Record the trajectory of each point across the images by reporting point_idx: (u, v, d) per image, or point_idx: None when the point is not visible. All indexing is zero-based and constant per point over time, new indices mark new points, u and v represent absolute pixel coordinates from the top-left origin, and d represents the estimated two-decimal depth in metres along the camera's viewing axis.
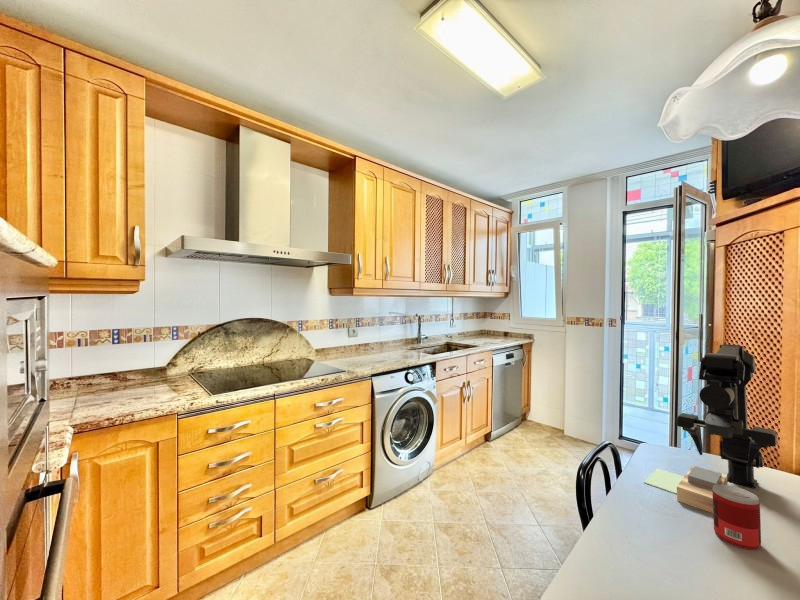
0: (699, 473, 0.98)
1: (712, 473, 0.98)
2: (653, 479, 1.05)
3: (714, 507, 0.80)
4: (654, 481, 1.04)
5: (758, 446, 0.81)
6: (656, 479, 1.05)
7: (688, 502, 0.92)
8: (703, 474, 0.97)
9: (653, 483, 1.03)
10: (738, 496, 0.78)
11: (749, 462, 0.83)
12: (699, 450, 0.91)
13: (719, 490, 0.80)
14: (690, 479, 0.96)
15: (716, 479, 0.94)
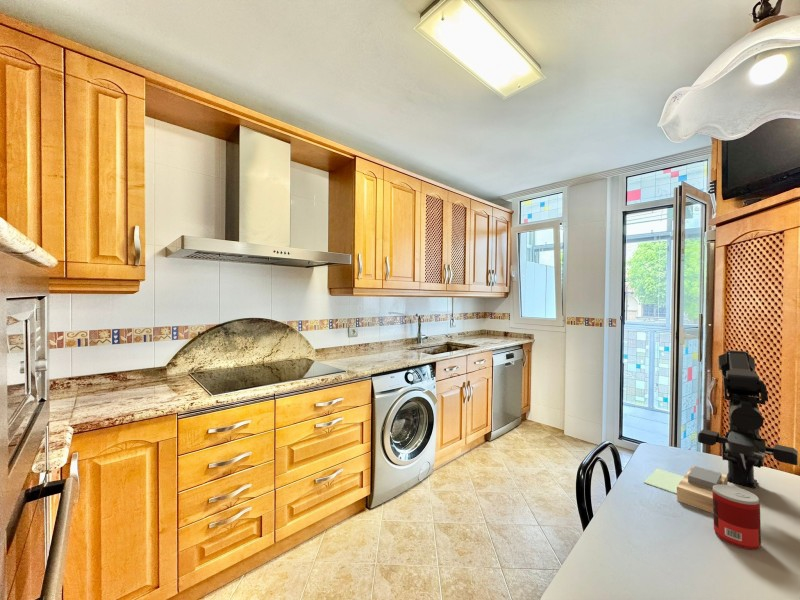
0: (699, 473, 0.98)
1: (712, 473, 0.98)
2: (653, 479, 1.05)
3: (714, 507, 0.80)
4: (654, 481, 1.04)
5: (755, 458, 0.88)
6: (656, 479, 1.05)
7: (688, 502, 0.92)
8: (703, 474, 0.97)
9: (653, 483, 1.03)
10: (738, 496, 0.78)
11: (747, 472, 0.90)
12: (743, 472, 0.91)
13: (719, 490, 0.80)
14: (690, 479, 0.96)
15: (716, 479, 0.94)
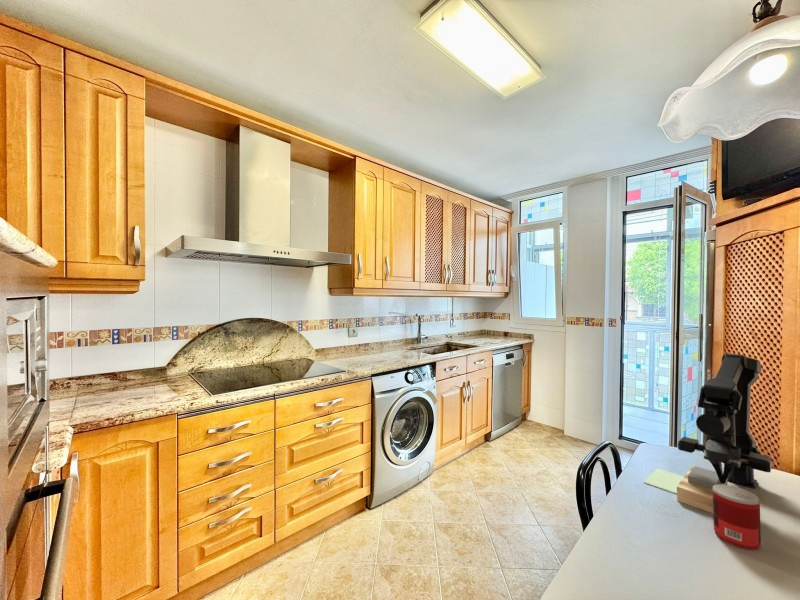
0: (699, 473, 0.98)
1: (712, 473, 0.98)
2: (653, 479, 1.05)
3: (714, 507, 0.80)
4: (654, 481, 1.04)
5: (731, 465, 0.91)
6: (656, 479, 1.05)
7: (688, 502, 0.92)
8: (703, 474, 0.97)
9: (653, 483, 1.03)
10: (738, 496, 0.78)
11: (724, 479, 0.94)
12: (720, 478, 0.94)
13: (719, 490, 0.80)
14: (690, 479, 0.96)
15: (716, 479, 0.94)
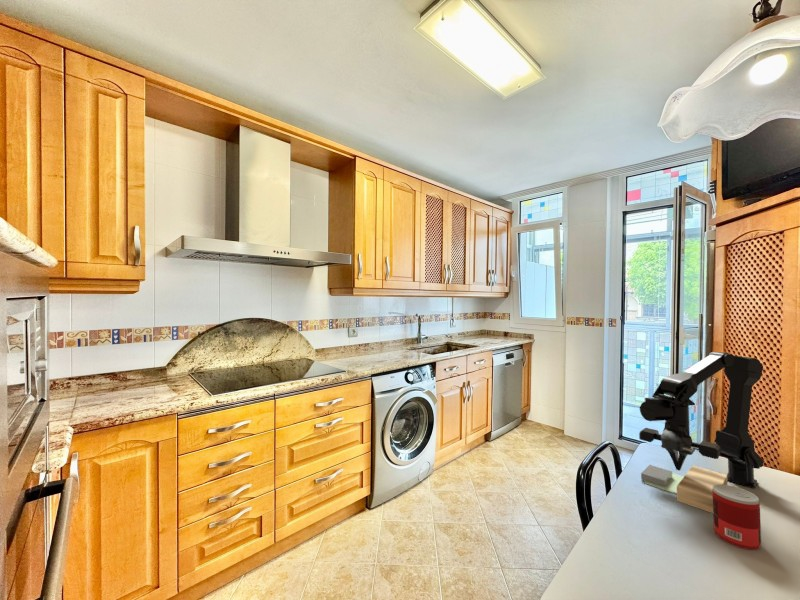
0: None
1: None
2: None
3: (714, 507, 0.80)
4: None
5: (684, 453, 0.99)
6: None
7: (688, 502, 0.92)
8: None
9: None
10: (738, 496, 0.78)
11: (679, 466, 1.01)
12: (676, 465, 1.02)
13: (719, 490, 0.80)
14: (662, 483, 1.01)
15: None
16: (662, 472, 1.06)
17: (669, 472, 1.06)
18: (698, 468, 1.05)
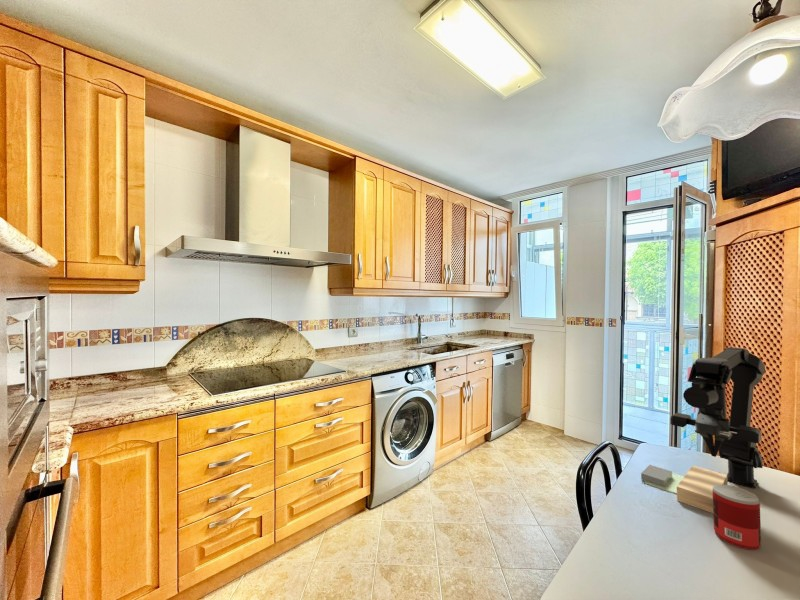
0: None
1: None
2: None
3: (714, 507, 0.80)
4: None
5: (721, 438, 0.93)
6: None
7: (688, 502, 0.92)
8: None
9: None
10: (738, 496, 0.78)
11: (715, 452, 0.96)
12: (711, 451, 0.96)
13: (719, 490, 0.80)
14: (662, 483, 1.01)
15: None
16: (662, 472, 1.06)
17: (669, 472, 1.06)
18: (698, 468, 1.05)
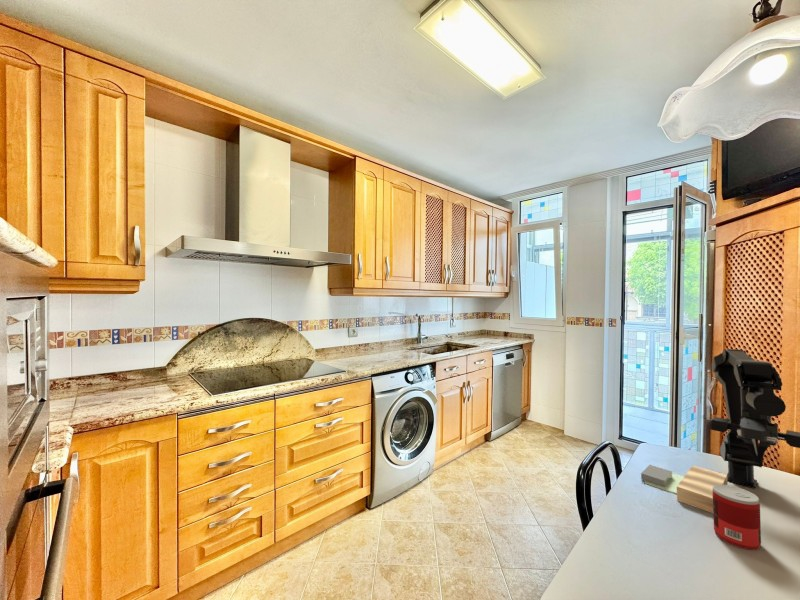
0: None
1: None
2: None
3: (714, 507, 0.80)
4: None
5: (767, 444, 0.89)
6: None
7: (688, 502, 0.92)
8: None
9: None
10: (738, 496, 0.78)
11: (759, 458, 0.91)
12: (755, 458, 0.92)
13: (719, 490, 0.80)
14: (662, 483, 1.01)
15: None
16: (662, 472, 1.06)
17: (669, 472, 1.06)
18: (698, 468, 1.05)
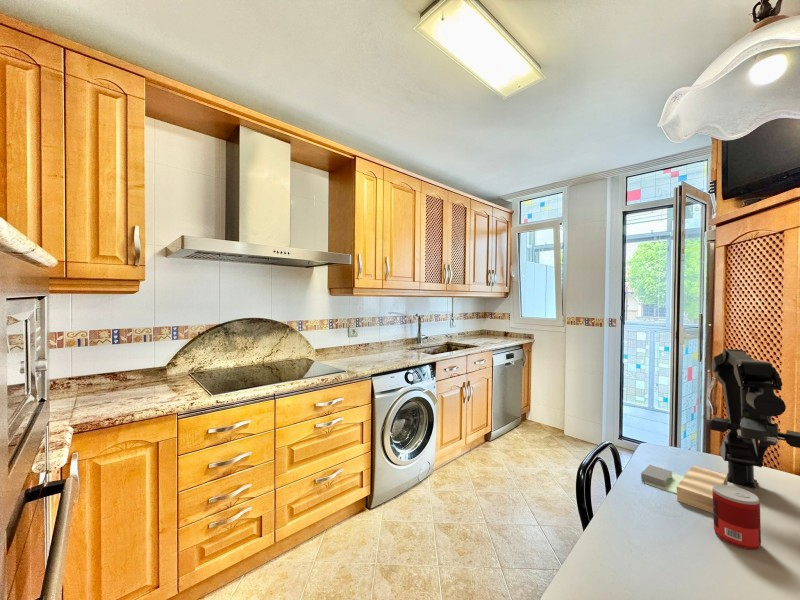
0: None
1: None
2: None
3: (714, 507, 0.80)
4: None
5: (767, 444, 0.89)
6: None
7: (688, 502, 0.92)
8: None
9: None
10: (738, 496, 0.78)
11: (759, 458, 0.91)
12: (755, 458, 0.92)
13: (719, 490, 0.80)
14: (662, 483, 1.01)
15: None
16: (662, 472, 1.06)
17: (669, 472, 1.06)
18: (698, 468, 1.05)
